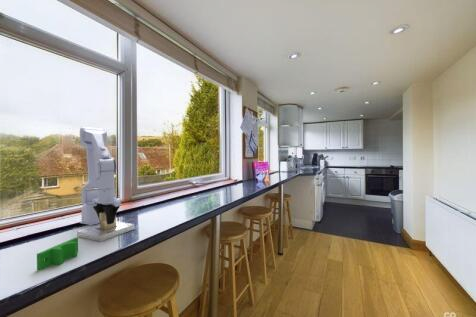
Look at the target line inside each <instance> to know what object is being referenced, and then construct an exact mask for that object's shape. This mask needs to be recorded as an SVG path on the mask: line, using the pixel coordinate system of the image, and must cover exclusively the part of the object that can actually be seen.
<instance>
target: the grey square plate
mask: <svg viewBox="0 0 476 317" xmlns="http://www.w3.org/2000/svg"><path fill="white" fill-rule="evenodd" d="M133 230H135V224H134V223H129V222H122V221H117V220H116V227H112V228H109V229H101V228H100V223H98V224H95V225H91V226H90V227H86V228H83V229H79V230H77V231H76V237H77V238H78V237H79V238H83V239H88V240H91V241H95V242H100V243H101V242H103V241H106V240H109V239H112V238H114V237H117V236H119V235H123V234H125V233H128V232H131V231H133Z"/></svg>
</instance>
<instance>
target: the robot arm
mask: <svg viewBox="0 0 476 317" xmlns="http://www.w3.org/2000/svg"><path fill="white" fill-rule="evenodd" d="M107 138H108V132H107V129H106V128H99V127H98V128H96V127H86V126H85V127H84V126H81V127H80V129H79V143H80V146H81V147H83V148H85V151H86V160H87V162H86V164H87V178H88V179H87V183H85V184H84V185H82V187H81V191H80V193H81V194H80V200H81V203H82V204H83V205H82V207H81V216H80V217H81V221H82V222H81V221H79V222H80V223H79V224H82V225H89V226H95V225H99V224H100V219H99V213H102V212H105V214H106V219H107V224H112V223H114V219H115V216H116V217H117V212H118V211H119V209H120V207H121V206H122V201H121V200H119V199H118V198H117V197H115V194H116V192H115V173H116V172H117V171H116V170H117V162H116V159H115V158H114V157H113V156H111V153H110V150H109V148H108V147H107V146H105V143H106V141H107Z"/></svg>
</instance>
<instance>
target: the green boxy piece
mask: <svg viewBox="0 0 476 317" xmlns="http://www.w3.org/2000/svg"><path fill="white" fill-rule="evenodd" d="M78 252H79V238H78V237H74V238H70V239H69V240H66V241H64V242H62V243H59V244H57V245H55V246H52V247H50V248H47V249H45V250H43V251H40V252H39V253H36V270H37V271H42V269H43V270H45V269H46V268H49V267H50V266H53V265H54V266H61V264H62V265H63V264H64V261H65V260H68V259H71V258H72V259H73V258H76V257H78Z"/></svg>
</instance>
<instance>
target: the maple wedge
mask: <svg viewBox="0 0 476 317" xmlns="http://www.w3.org/2000/svg"><path fill="white" fill-rule="evenodd" d="M99 219H100V223H99V224H100V228H101V229H109V228H112V227H116V221H117V215H116V216H115V219H114V223H112V224H107V219H106V214H105V212H102V213H99Z"/></svg>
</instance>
